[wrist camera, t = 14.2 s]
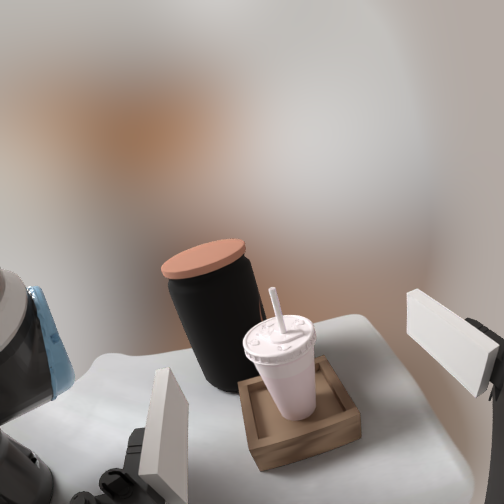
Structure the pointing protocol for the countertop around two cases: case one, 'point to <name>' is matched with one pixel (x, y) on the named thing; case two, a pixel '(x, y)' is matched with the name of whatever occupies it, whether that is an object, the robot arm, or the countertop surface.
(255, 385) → the wooden tray
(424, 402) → the countertop surface
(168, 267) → the coffee jar
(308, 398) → the smoothie
